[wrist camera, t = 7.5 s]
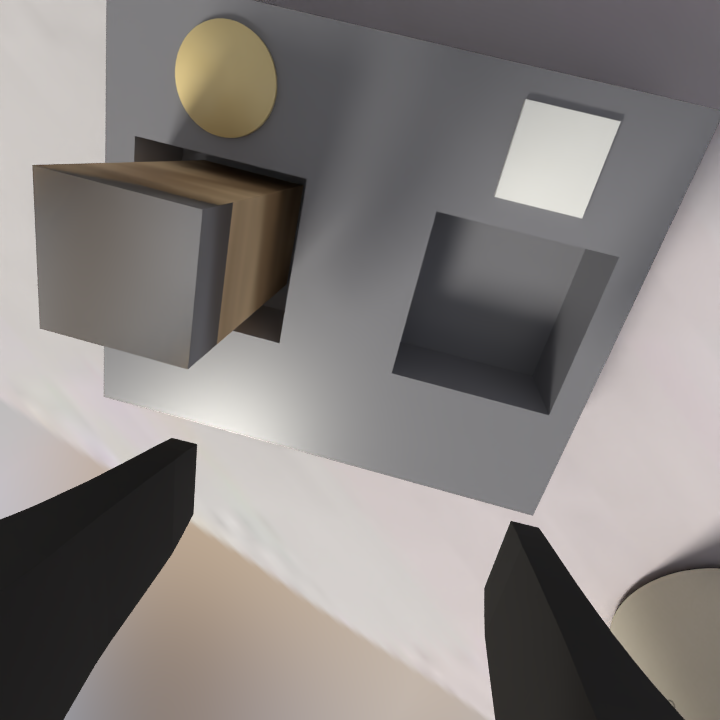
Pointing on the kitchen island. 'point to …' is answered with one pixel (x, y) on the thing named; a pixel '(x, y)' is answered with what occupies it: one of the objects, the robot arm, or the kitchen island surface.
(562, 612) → the robot arm
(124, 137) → the socket block
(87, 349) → the kitchen island surface
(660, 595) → the travel mug
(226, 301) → the plug
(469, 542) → the kitchen island surface
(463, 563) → the kitchen island surface
